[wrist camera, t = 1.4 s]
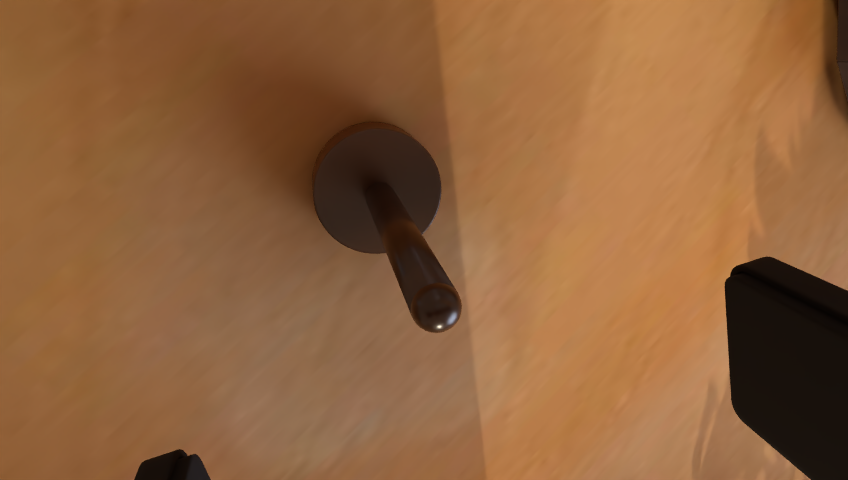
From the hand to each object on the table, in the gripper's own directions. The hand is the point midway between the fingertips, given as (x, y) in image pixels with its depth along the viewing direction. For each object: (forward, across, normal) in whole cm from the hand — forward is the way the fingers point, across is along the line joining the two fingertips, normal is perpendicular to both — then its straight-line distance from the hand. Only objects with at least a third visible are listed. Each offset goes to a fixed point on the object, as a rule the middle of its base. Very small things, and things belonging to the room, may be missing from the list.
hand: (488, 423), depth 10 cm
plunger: (+17, 0, 0) cm, 17 cm away
